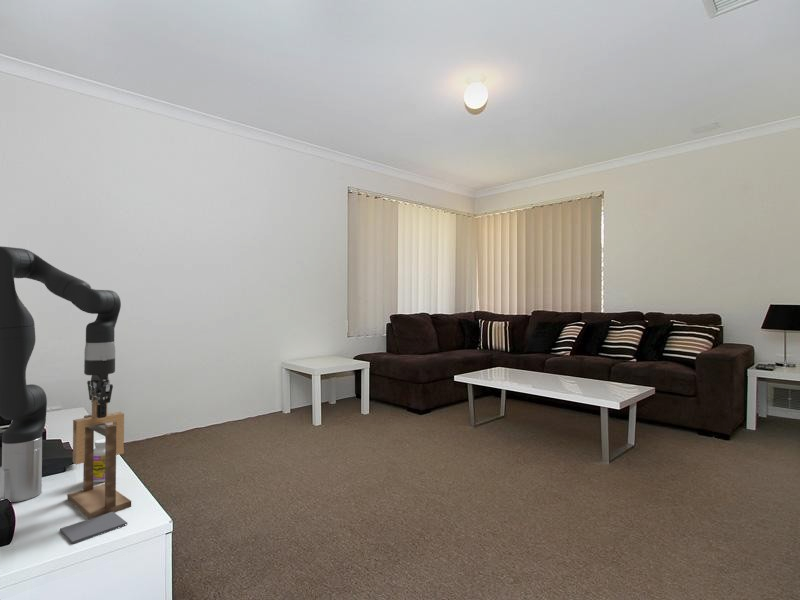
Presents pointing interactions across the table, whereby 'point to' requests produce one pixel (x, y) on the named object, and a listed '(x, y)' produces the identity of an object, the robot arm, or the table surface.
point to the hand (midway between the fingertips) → (99, 416)
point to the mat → (92, 527)
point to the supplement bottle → (99, 461)
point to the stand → (105, 495)
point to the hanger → (92, 421)
